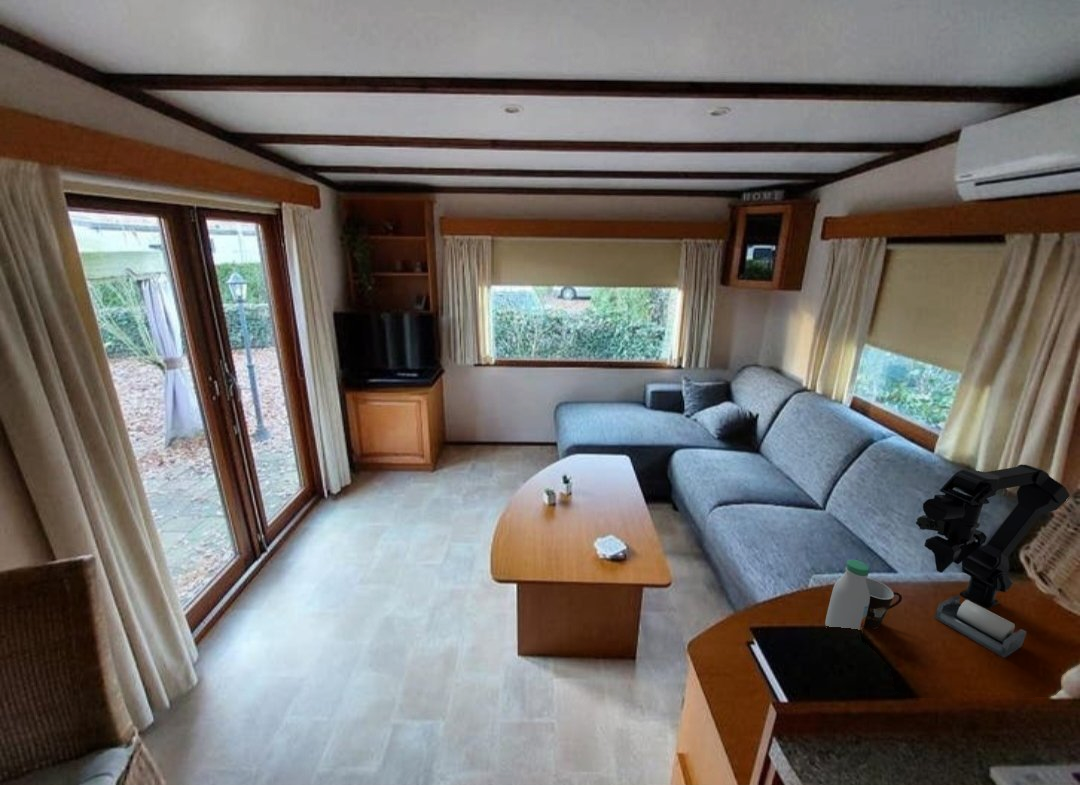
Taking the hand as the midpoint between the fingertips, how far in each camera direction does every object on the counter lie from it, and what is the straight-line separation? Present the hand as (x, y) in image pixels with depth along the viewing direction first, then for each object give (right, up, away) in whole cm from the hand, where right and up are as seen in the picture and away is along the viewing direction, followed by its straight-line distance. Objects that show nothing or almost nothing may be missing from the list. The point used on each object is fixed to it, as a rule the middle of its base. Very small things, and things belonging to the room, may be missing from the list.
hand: (947, 567), depth 119 cm
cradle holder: (+1, -14, -7) cm, 16 cm away
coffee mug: (-24, -13, -4) cm, 28 cm away
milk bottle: (-35, -14, -8) cm, 38 cm away
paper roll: (+1, -13, -8) cm, 15 cm away
